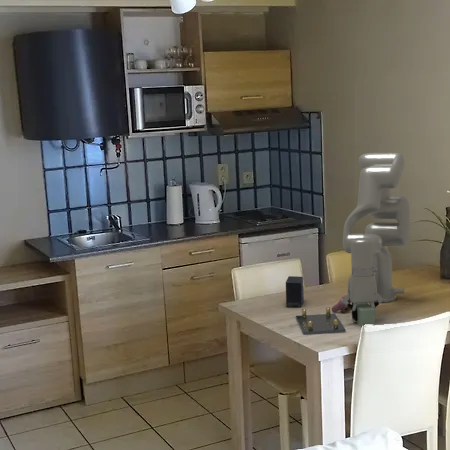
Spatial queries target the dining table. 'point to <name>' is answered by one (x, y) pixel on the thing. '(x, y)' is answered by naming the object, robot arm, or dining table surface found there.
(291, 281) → the small box
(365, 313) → the green board block
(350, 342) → the dining table surface
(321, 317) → the standoff plate
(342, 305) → the video game controller
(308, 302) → the dining table surface
